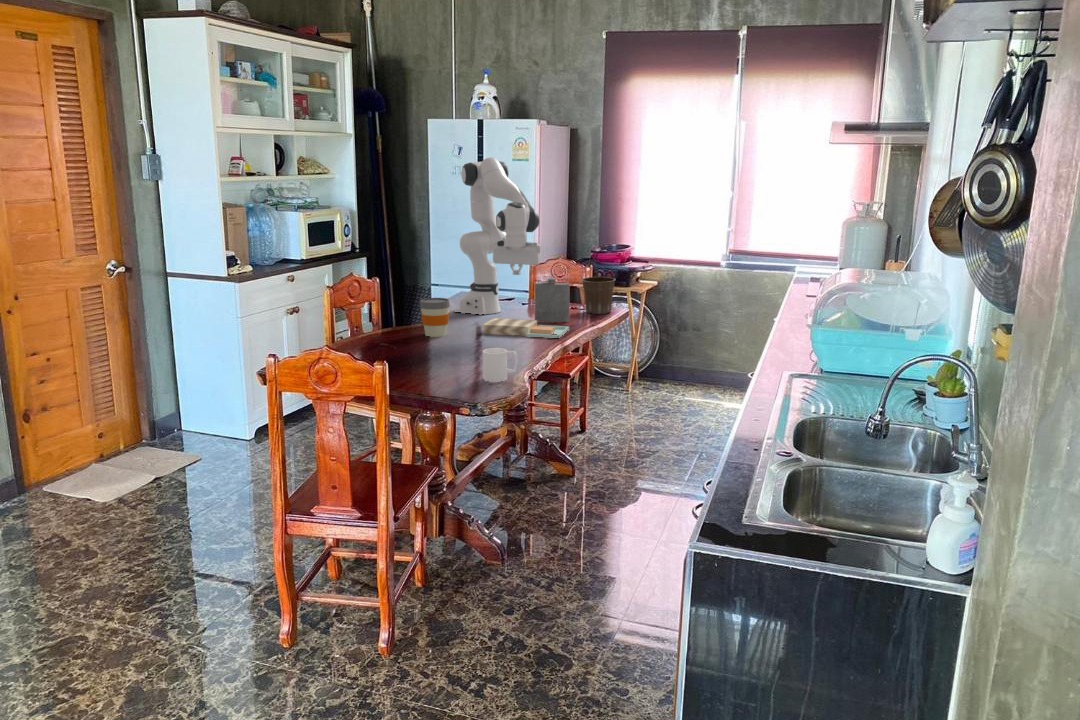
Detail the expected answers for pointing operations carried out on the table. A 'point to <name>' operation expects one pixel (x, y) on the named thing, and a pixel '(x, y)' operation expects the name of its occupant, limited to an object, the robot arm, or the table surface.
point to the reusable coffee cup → (435, 316)
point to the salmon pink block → (542, 330)
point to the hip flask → (552, 301)
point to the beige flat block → (509, 326)
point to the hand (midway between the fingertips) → (516, 274)
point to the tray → (558, 330)
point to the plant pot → (598, 294)
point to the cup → (496, 364)
